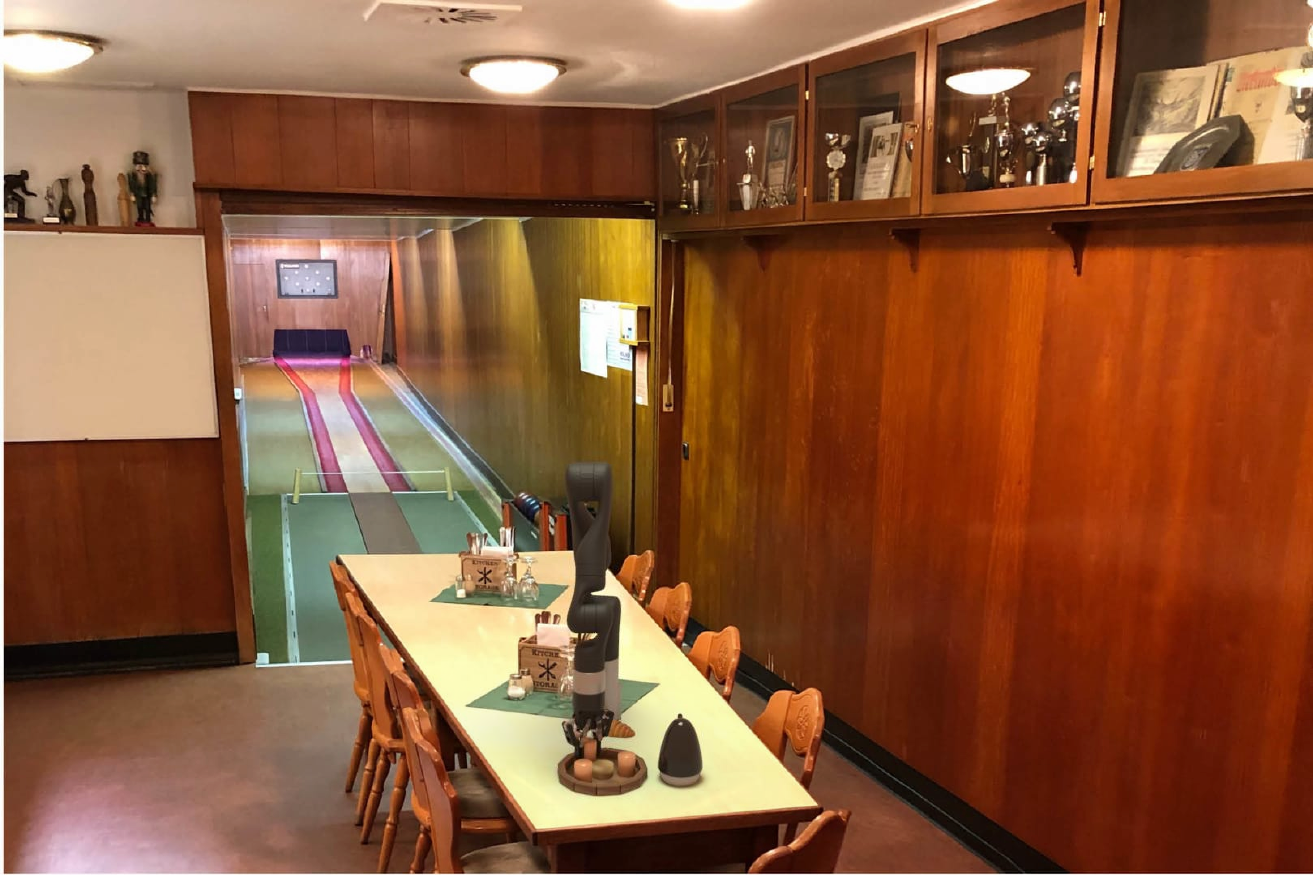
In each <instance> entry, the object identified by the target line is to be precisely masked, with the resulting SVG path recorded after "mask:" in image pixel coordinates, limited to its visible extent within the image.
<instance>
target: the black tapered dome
mask: <svg viewBox="0 0 1313 875" xmlns="http://www.w3.org/2000/svg"><path fill="white" fill-rule="evenodd" d="M683 716H684V715H683V714H682V713H679V712H678V714H677V718H674V719H673V720H672V721H671V722H670V724H669V725H668V727H667V728H666V730H665V732H664V736H663V737H662V738H663V739H662V742H661V745H660V750H659V754H658V759H657V769H658V771H659V775H660V777H661V778H662V781H664V782H665V783H666V784H668V785H671V786H676V787H688V786H691V785H693V784H695V783H696V782H697V781H698V779H699V777H700V775H701V773H702V771H703V762H704V761H703V756H702V750H701V744H700V741H699V737H698V733H697V731H696V728H695V726H694V725H693V723H692V722H691V721H690V720H689V719H687V718H685V717H683Z"/></svg>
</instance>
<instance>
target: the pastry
mask: <svg viewBox="0 0 1313 875" xmlns="http://www.w3.org/2000/svg"><path fill="white" fill-rule="evenodd" d="M605 727H606V726H605ZM604 730H605V729H604ZM635 735H636V732H635V731H634V729H632V728H631V726H628V724H626V723H623V722H622V721H621V720H617V721H616V720H615V719H613V721H612V724H611V728H610V732H609V735H608V736H607V738H617V739H632V738H633V737H635Z"/></svg>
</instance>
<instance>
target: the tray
mask: <svg viewBox="0 0 1313 875" xmlns="http://www.w3.org/2000/svg"><path fill="white" fill-rule="evenodd" d="M622 751H627V750H625V749H621V748H614V747H608V746H607V747H606V746H605V747H601V752H600V755H599V757H596V761H594V762H592V783H588V782H583V781H578V780H577V779H575V778H574V763H575V761H576V759H575V757H574V753H575V752H572V753H567V754H566V755H565V756H564V757H563V758H562V759H561V760H560V761H559V762H558V763H557V776H558V781H559V783H560V784H561V785H562V786H564V787H565V788H567V789H569V790H570V791H572V792H574V793H578V794H583V795H588V796H589V795H590V796H594V797H596V796H597V797H605V796H606V797H607V796H618V795H619V796H620V795H623V794H625V793H630V792H632V791H634V790H636V789H639V788H640V787H641V786H642V785H643V784H644V783H645V781H646V780H647V779H648V772H649V770H648V766H647V764H646V761H645V759H644V758H643V757H641V756H639V755H638V754H636V753H635V775H634V776H632V777H621V776H619V775H618V753H620V752H622Z"/></svg>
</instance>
